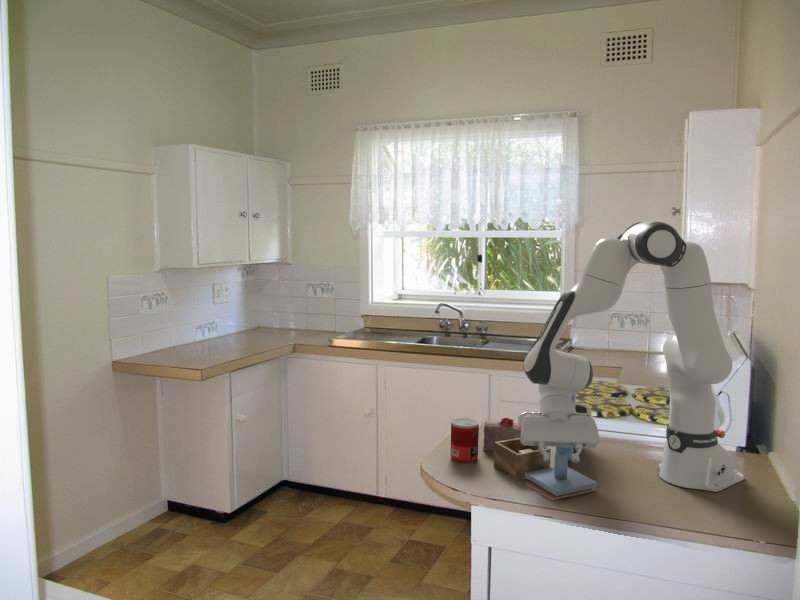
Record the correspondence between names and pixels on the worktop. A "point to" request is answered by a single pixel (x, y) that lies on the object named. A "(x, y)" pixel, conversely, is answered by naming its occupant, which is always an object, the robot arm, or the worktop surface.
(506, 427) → the food item
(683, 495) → the worktop surface
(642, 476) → the worktop surface
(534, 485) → the mat
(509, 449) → the crate
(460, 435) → the canned food
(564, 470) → the lid
